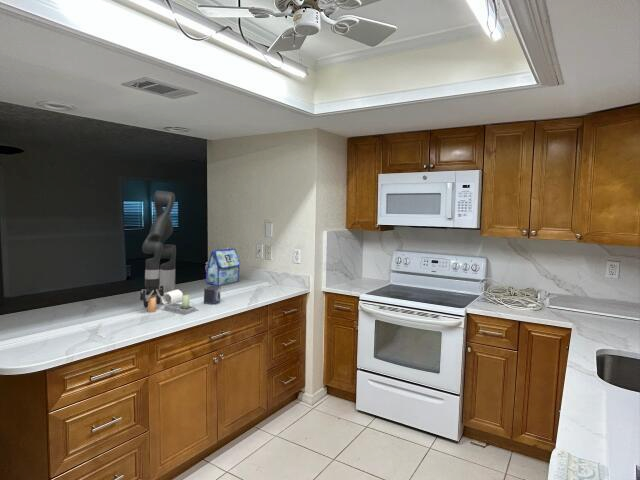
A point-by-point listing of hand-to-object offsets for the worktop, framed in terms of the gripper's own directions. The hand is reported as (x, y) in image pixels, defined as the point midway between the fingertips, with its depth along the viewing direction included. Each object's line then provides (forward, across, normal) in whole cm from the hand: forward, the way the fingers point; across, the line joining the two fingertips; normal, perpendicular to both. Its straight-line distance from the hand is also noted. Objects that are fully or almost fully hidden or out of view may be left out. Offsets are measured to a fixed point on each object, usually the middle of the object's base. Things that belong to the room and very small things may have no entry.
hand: (152, 305), depth 223 cm
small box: (+4, -34, +14) cm, 37 cm away
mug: (+4, -20, -7) cm, 22 cm away
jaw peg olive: (+3, -11, +14) cm, 18 cm away
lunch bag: (+4, -84, -17) cm, 86 cm away
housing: (+4, -11, +10) cm, 15 cm away
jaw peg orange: (+4, 0, 0) cm, 4 cm away
